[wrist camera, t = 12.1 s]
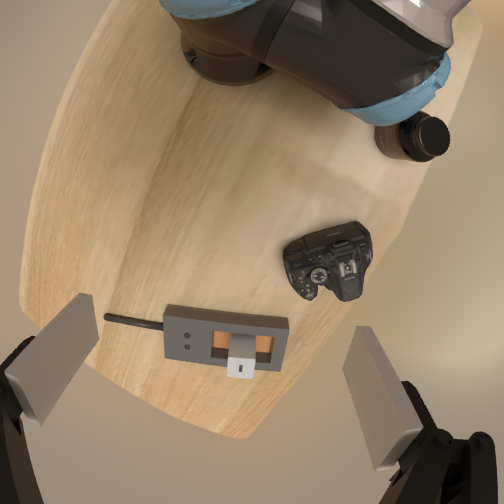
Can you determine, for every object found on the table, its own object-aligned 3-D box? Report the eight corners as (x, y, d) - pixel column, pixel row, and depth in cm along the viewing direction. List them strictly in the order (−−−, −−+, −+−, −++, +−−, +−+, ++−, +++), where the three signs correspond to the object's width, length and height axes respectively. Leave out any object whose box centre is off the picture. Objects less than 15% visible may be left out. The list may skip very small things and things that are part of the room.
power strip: (108, 334, 52) (100, 345, 49) (102, 293, 49) (93, 303, 46) (279, 359, 53) (280, 372, 49) (287, 317, 50) (289, 330, 46)
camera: (309, 297, 49) (320, 332, 39) (272, 252, 46) (275, 280, 37) (375, 248, 46) (401, 273, 36) (342, 199, 43) (364, 213, 34)
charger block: (231, 326, 50) (227, 356, 42) (256, 329, 50) (256, 359, 42) (230, 346, 51) (226, 376, 44) (253, 348, 51) (253, 379, 44)
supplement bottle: (400, 167, 41) (442, 176, 30) (366, 142, 40) (402, 142, 29) (419, 132, 39) (463, 131, 28) (386, 106, 38) (425, 96, 27)
